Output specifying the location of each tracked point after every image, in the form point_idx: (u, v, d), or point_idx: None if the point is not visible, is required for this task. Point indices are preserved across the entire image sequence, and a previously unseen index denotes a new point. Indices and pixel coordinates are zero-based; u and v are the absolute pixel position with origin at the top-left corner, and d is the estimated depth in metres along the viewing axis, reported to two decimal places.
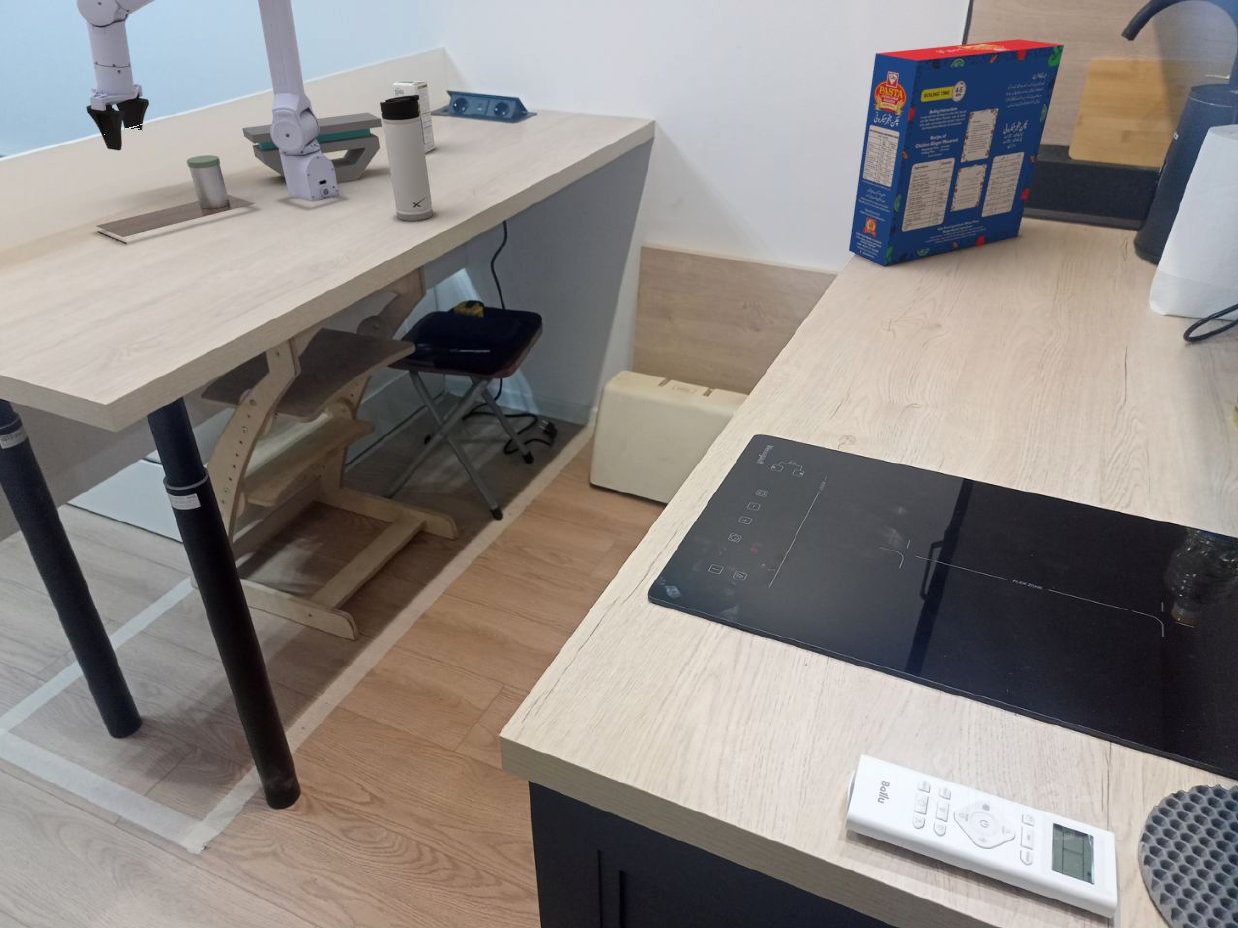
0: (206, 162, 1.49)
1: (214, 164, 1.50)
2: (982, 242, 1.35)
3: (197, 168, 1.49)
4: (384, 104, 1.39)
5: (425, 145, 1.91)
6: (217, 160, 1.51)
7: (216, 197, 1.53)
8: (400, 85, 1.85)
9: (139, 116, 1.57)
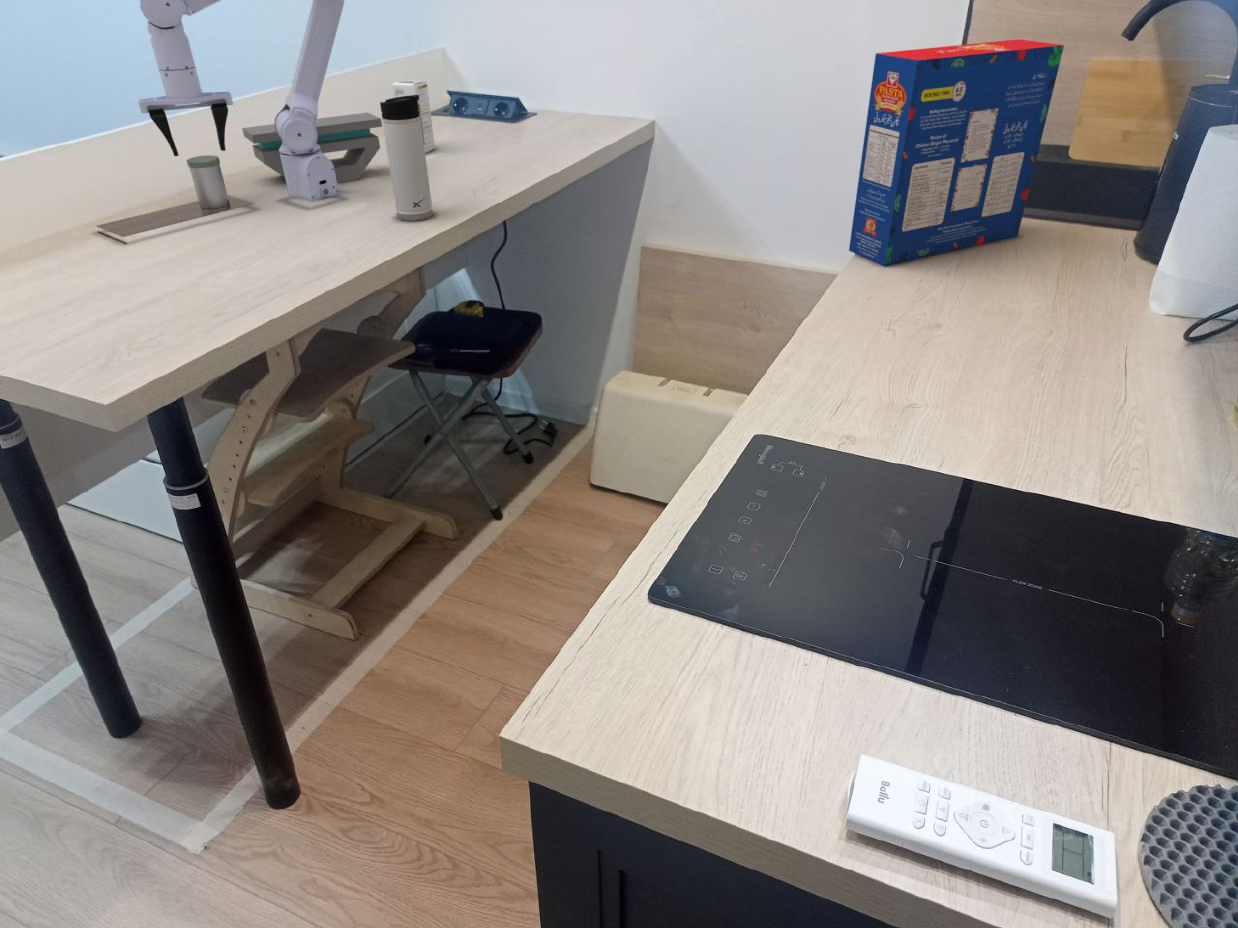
0: (206, 162, 1.49)
1: (214, 164, 1.50)
2: (982, 242, 1.35)
3: (197, 168, 1.49)
4: (384, 104, 1.39)
5: (425, 145, 1.91)
6: (217, 160, 1.51)
7: (216, 197, 1.53)
8: (400, 85, 1.85)
9: (216, 125, 1.48)
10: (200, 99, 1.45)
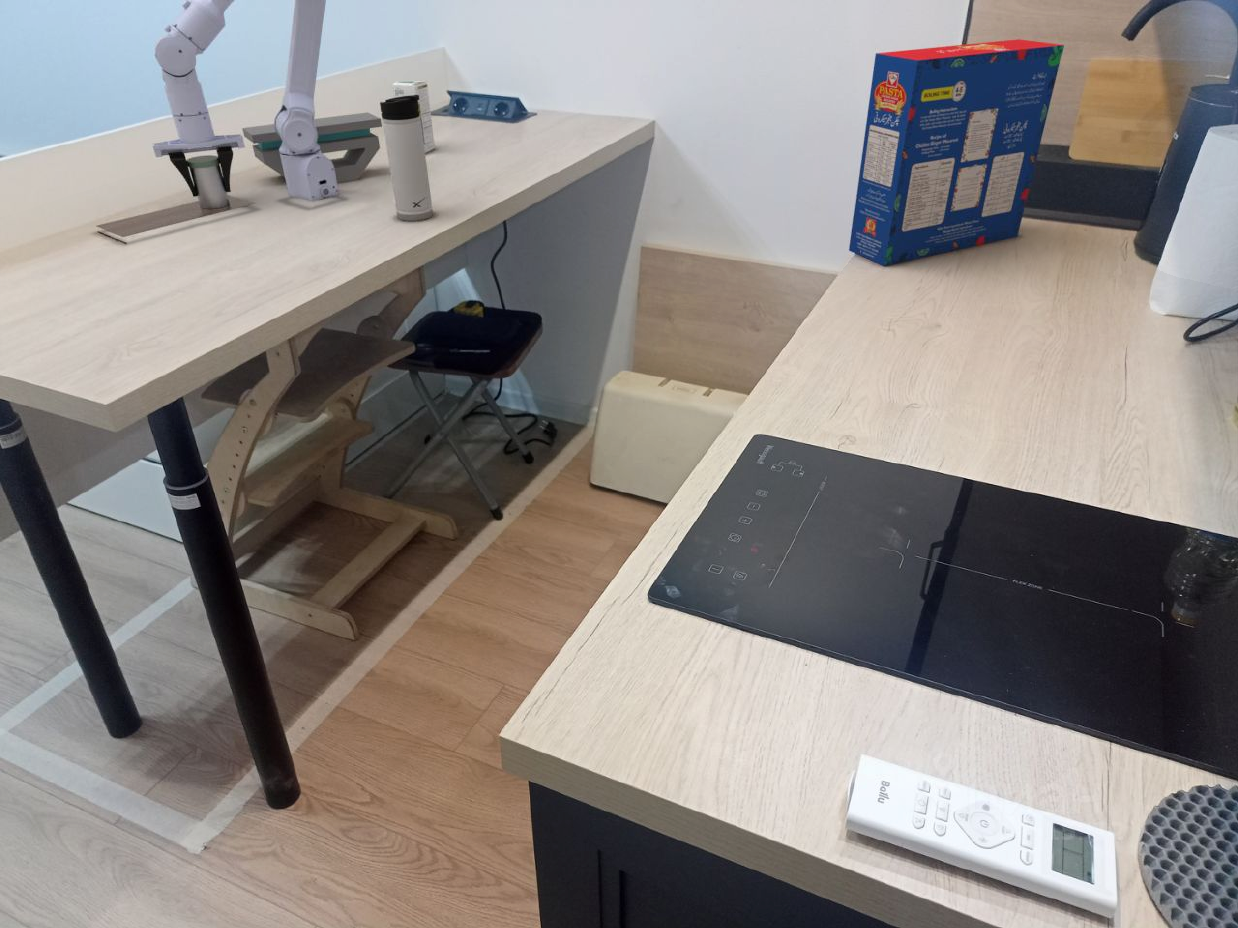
0: (206, 162, 1.49)
1: (214, 164, 1.50)
2: (982, 242, 1.35)
3: (197, 168, 1.49)
4: (384, 104, 1.39)
5: (425, 145, 1.91)
6: (217, 160, 1.51)
7: (216, 197, 1.53)
8: (400, 85, 1.85)
9: (221, 167, 1.52)
10: (212, 143, 1.48)
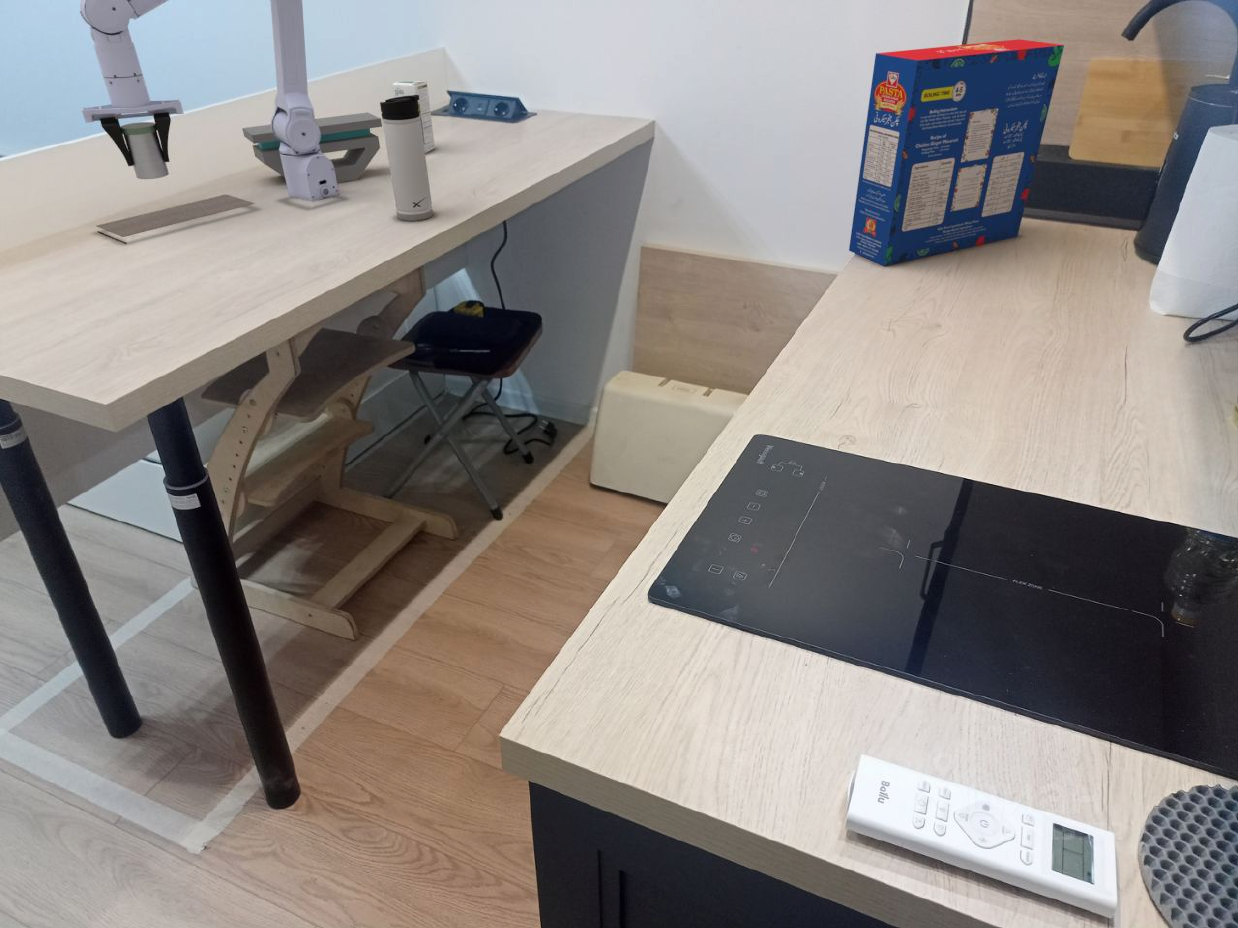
0: (141, 128, 1.39)
1: (150, 131, 1.41)
2: (982, 242, 1.35)
3: (131, 135, 1.40)
4: (384, 104, 1.39)
5: (425, 145, 1.91)
6: (153, 127, 1.41)
7: (152, 166, 1.43)
8: (400, 85, 1.85)
9: None
10: (147, 108, 1.39)
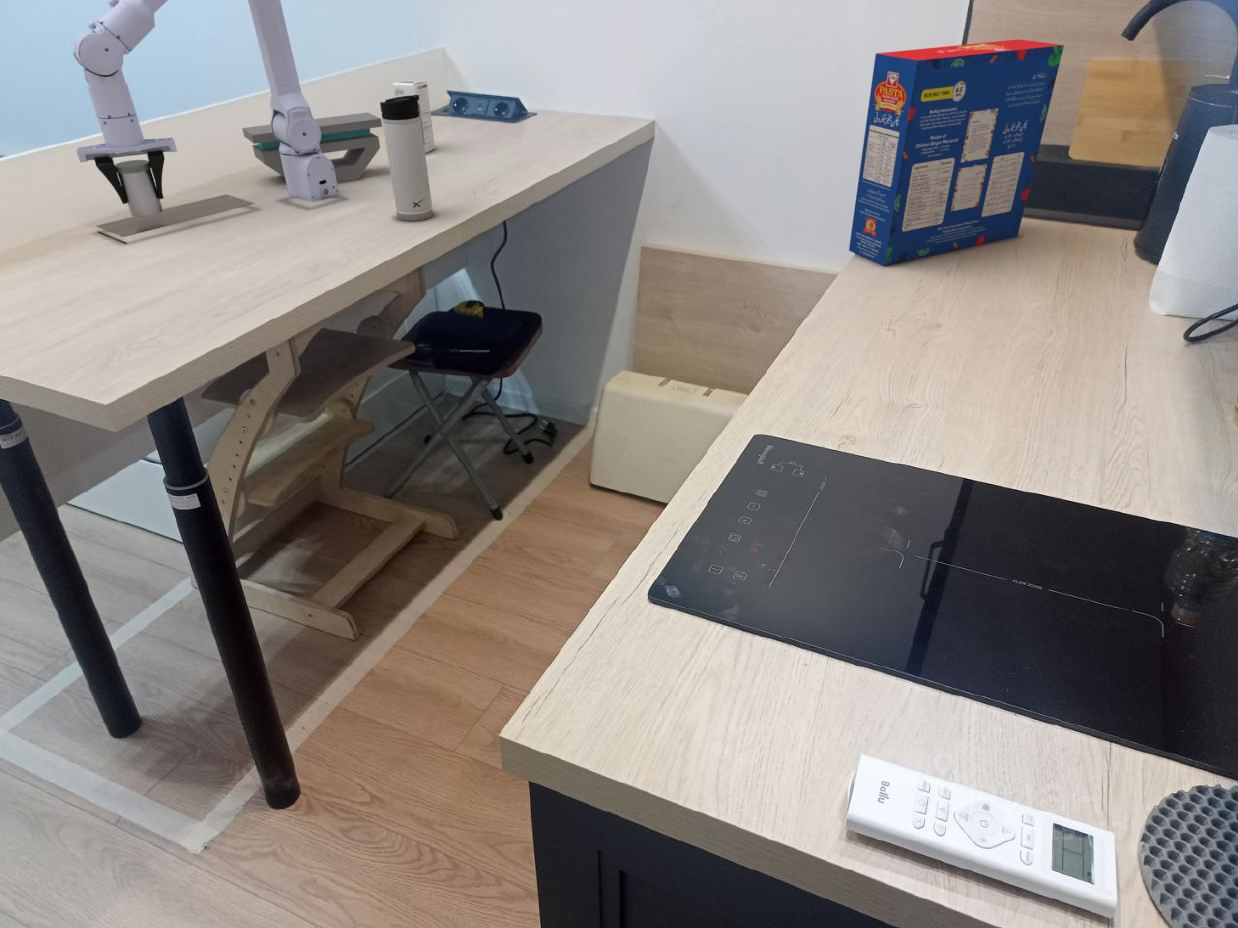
0: (134, 167, 1.41)
1: (144, 169, 1.42)
2: (982, 242, 1.35)
3: (125, 173, 1.41)
4: (384, 104, 1.39)
5: (425, 145, 1.91)
6: (147, 165, 1.42)
7: (146, 204, 1.44)
8: (400, 85, 1.85)
9: None
10: (141, 147, 1.40)
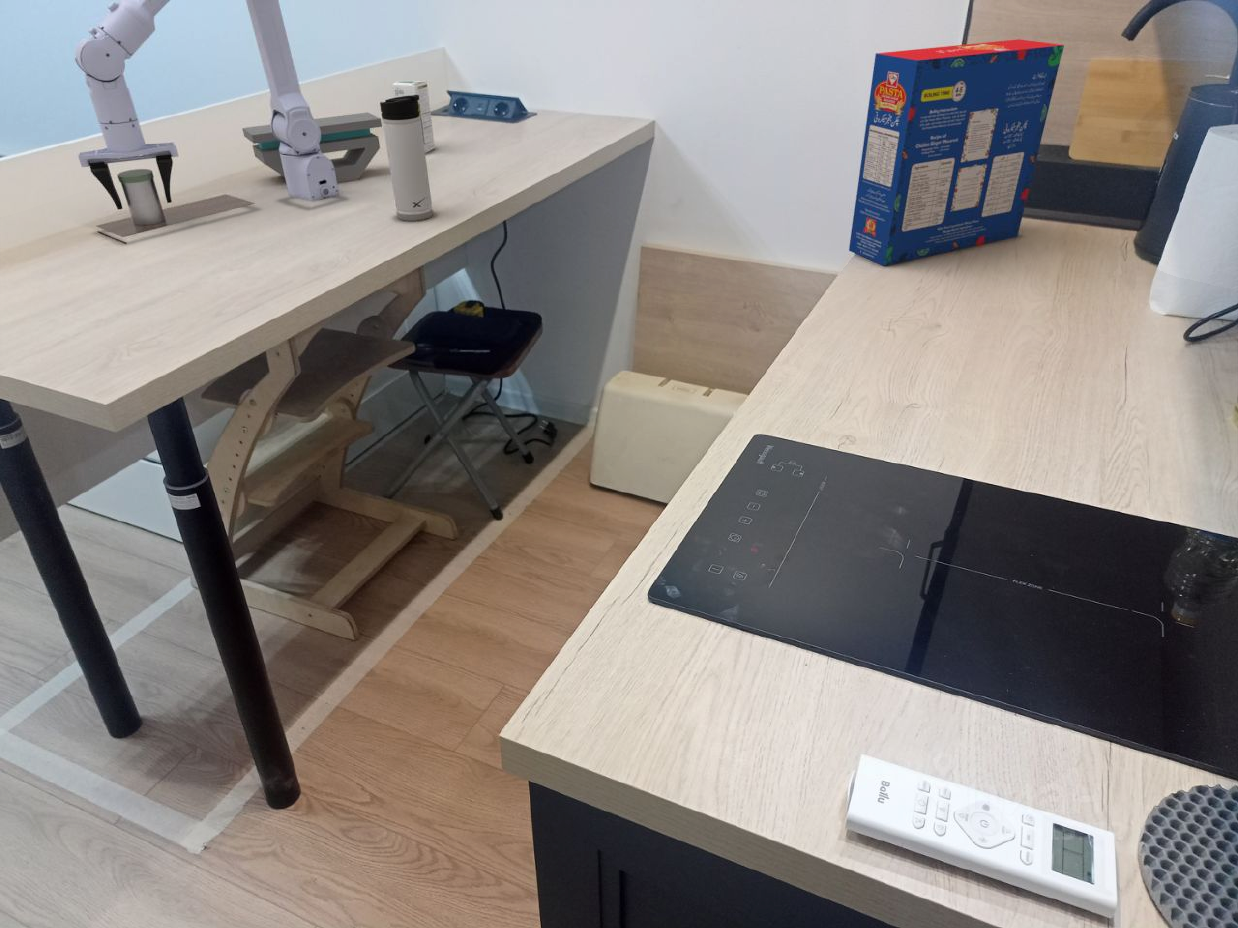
0: (137, 176, 1.41)
1: (146, 178, 1.43)
2: (982, 242, 1.35)
3: (128, 183, 1.42)
4: (384, 104, 1.39)
5: (425, 145, 1.91)
6: (150, 174, 1.43)
7: (149, 213, 1.45)
8: (400, 85, 1.85)
9: (161, 177, 1.44)
10: (143, 152, 1.40)
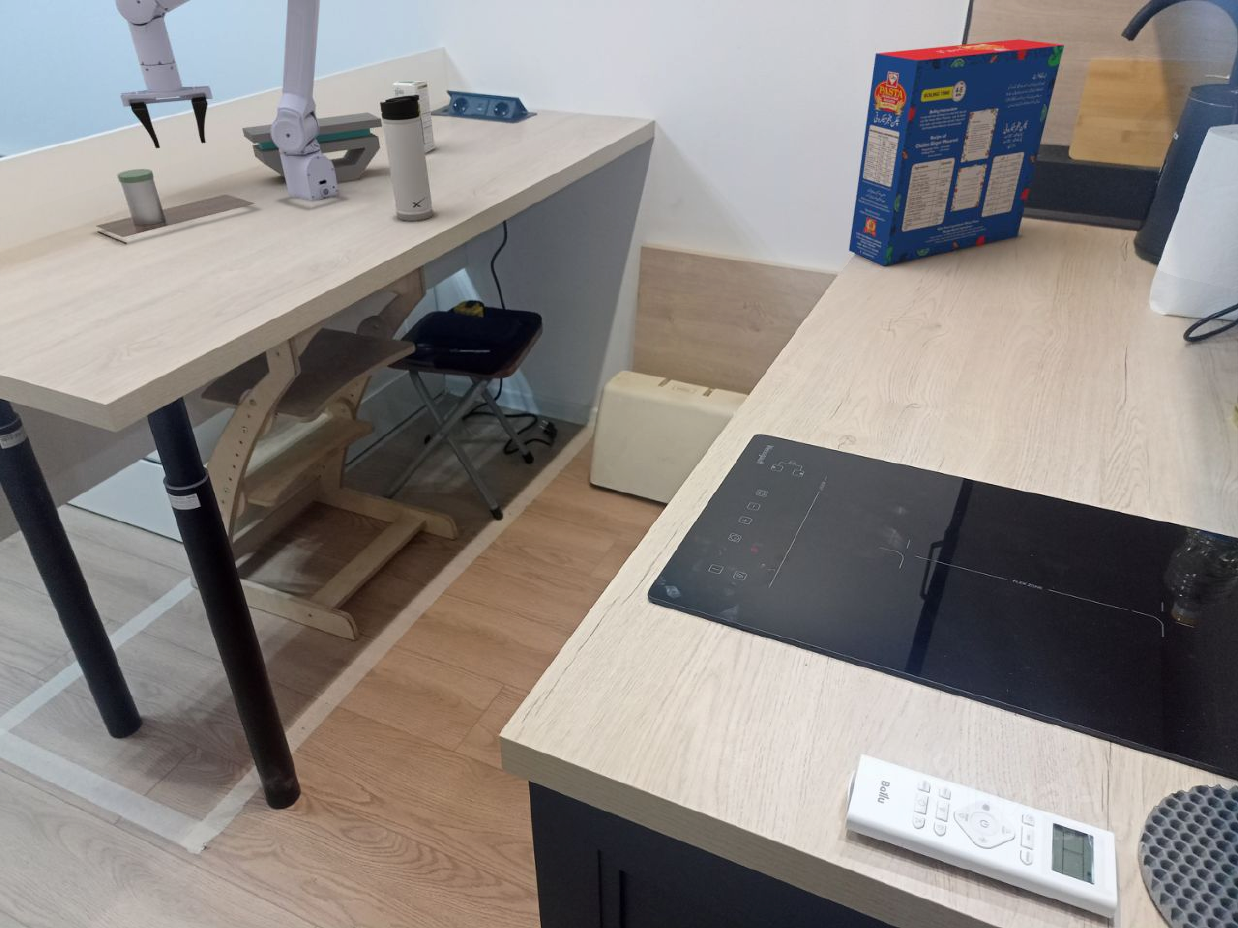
0: (137, 176, 1.41)
1: (146, 178, 1.43)
2: (982, 242, 1.35)
3: (128, 183, 1.42)
4: (384, 104, 1.39)
5: (425, 145, 1.91)
6: (150, 174, 1.43)
7: (149, 213, 1.45)
8: (400, 85, 1.85)
9: (196, 118, 1.54)
10: (180, 93, 1.50)
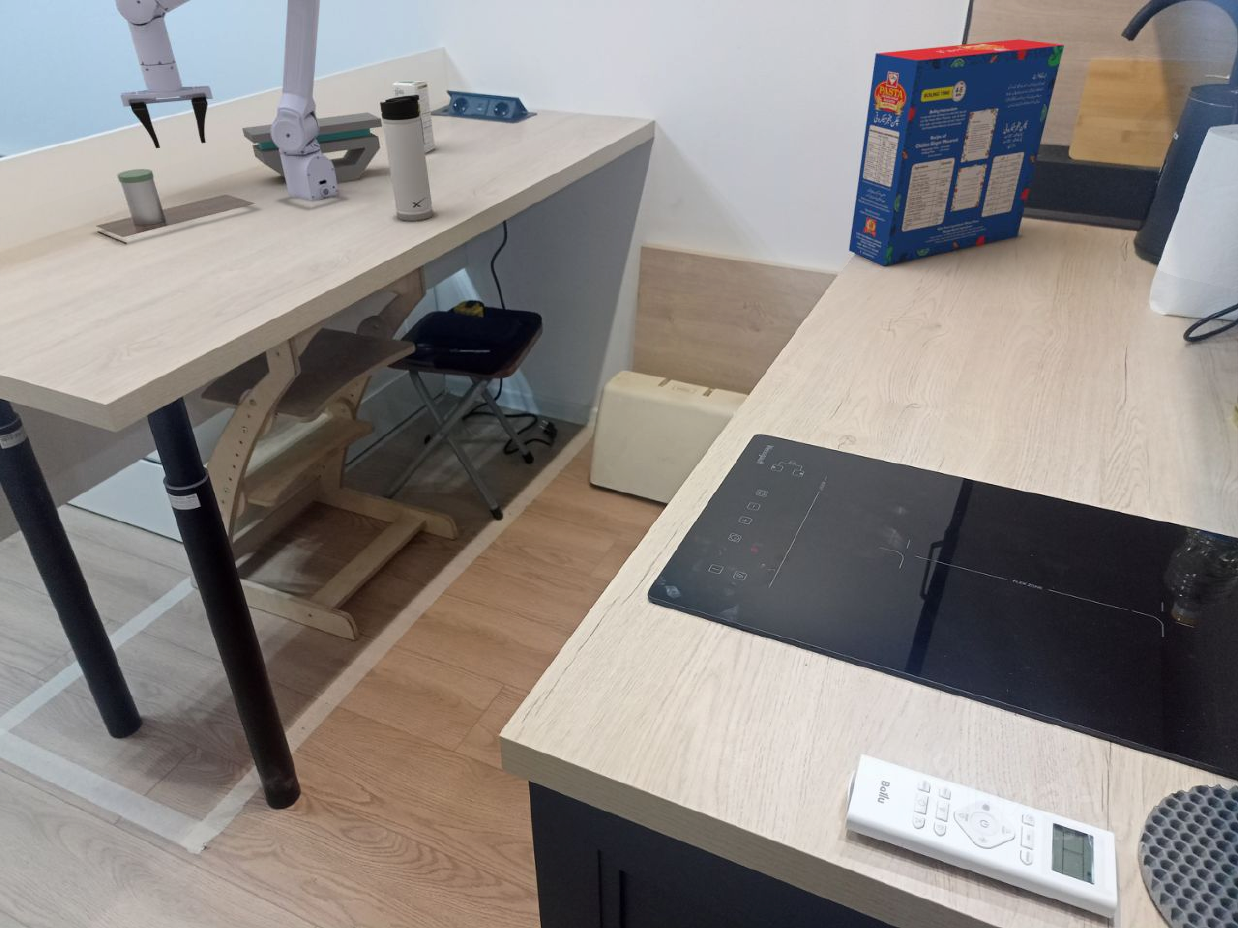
0: (137, 176, 1.41)
1: (146, 178, 1.43)
2: (982, 242, 1.35)
3: (128, 183, 1.42)
4: (384, 104, 1.39)
5: (425, 145, 1.91)
6: (150, 174, 1.43)
7: (149, 213, 1.45)
8: (400, 85, 1.85)
9: (196, 118, 1.54)
10: (180, 93, 1.50)
